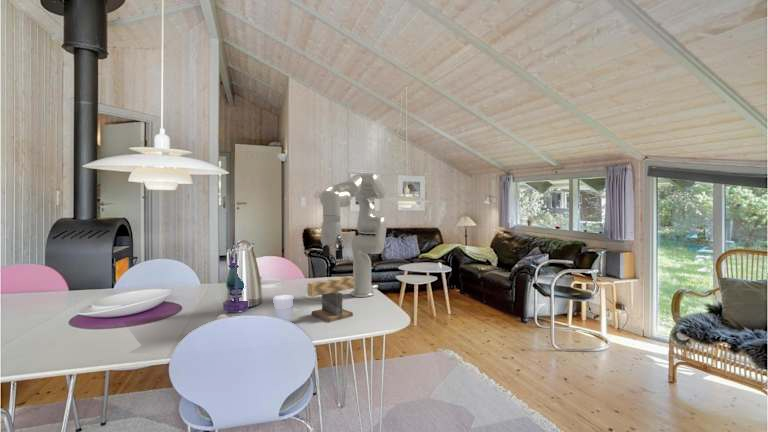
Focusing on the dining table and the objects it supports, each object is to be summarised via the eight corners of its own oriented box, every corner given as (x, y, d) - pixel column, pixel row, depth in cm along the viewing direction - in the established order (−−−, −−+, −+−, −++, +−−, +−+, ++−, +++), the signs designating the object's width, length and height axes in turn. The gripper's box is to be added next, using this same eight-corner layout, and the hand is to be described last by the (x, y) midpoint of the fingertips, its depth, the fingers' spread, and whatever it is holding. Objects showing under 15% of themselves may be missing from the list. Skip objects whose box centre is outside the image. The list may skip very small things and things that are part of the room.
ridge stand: (334, 309, 176) (333, 286, 175) (352, 315, 165) (352, 292, 165) (311, 314, 167) (311, 291, 167) (329, 322, 157) (329, 296, 157)
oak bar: (349, 286, 175) (349, 276, 174) (354, 288, 172) (354, 277, 172) (307, 295, 160) (307, 283, 160) (312, 296, 157) (312, 284, 157)
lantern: (223, 307, 179) (221, 244, 178) (249, 305, 183) (248, 243, 182) (223, 315, 167) (221, 247, 165) (251, 312, 171) (249, 246, 170)
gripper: (313, 218, 171) (314, 256, 172) (336, 220, 159) (337, 261, 160) (327, 217, 176) (328, 254, 177) (350, 219, 164) (351, 259, 165)
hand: (332, 257), depth 169 cm, fingers open, 9 cm apart
